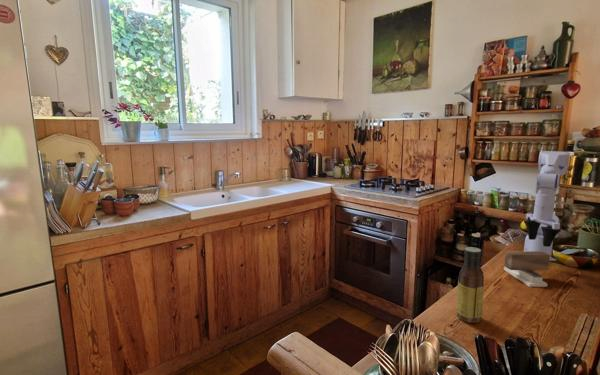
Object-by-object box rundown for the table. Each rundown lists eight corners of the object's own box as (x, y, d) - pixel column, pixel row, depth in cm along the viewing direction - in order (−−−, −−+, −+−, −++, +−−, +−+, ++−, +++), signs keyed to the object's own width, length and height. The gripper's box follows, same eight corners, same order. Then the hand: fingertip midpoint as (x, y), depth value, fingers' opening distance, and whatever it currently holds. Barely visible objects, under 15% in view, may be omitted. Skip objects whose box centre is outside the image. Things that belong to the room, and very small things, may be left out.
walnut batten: (504, 266, 121) (506, 251, 120) (540, 266, 121) (542, 251, 120) (510, 270, 118) (512, 254, 117) (547, 270, 118) (550, 255, 117)
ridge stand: (503, 269, 127) (504, 260, 126) (519, 269, 127) (520, 260, 126) (529, 286, 113) (530, 276, 112) (547, 286, 113) (548, 276, 113)
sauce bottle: (475, 312, 97) (482, 245, 93) (485, 325, 90) (493, 253, 87) (451, 311, 97) (457, 244, 94) (459, 323, 91) (466, 252, 88)
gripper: (519, 202, 130) (515, 236, 132) (547, 211, 116) (542, 249, 118) (538, 202, 130) (533, 236, 132) (568, 211, 116) (562, 249, 118)
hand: (539, 242), depth 125 cm, fingers open, 7 cm apart
